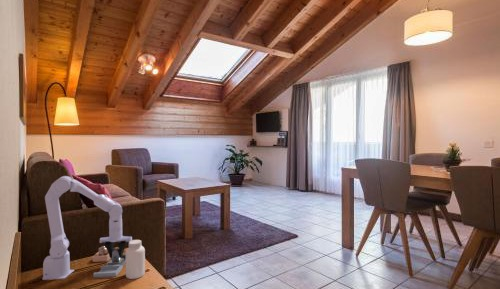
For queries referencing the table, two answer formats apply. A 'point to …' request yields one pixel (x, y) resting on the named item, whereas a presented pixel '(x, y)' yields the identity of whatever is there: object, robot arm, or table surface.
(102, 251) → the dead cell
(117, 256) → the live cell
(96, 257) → the pink square tube
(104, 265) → the digital scale
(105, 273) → the trough
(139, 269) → the pill bottle
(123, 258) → the pad
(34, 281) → the table surface
